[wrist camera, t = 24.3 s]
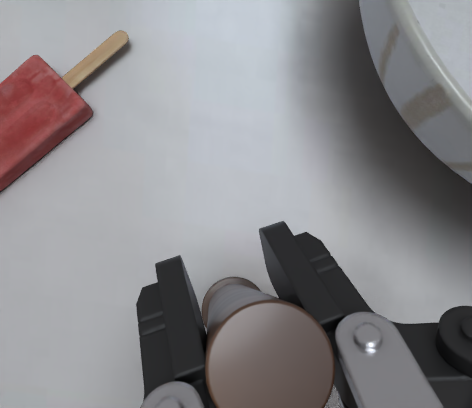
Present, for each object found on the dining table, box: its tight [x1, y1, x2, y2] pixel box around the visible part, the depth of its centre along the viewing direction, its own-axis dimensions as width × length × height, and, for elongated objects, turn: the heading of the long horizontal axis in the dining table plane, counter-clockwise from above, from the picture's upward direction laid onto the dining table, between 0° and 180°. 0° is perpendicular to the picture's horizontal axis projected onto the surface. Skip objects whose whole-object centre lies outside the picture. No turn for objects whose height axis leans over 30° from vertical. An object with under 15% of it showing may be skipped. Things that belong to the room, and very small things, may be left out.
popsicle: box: [0, 31, 129, 191], centre depth 24 cm, size 4×2×15 cm
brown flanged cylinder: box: [202, 277, 335, 408], centre depth 13 cm, size 3×3×12 cm
